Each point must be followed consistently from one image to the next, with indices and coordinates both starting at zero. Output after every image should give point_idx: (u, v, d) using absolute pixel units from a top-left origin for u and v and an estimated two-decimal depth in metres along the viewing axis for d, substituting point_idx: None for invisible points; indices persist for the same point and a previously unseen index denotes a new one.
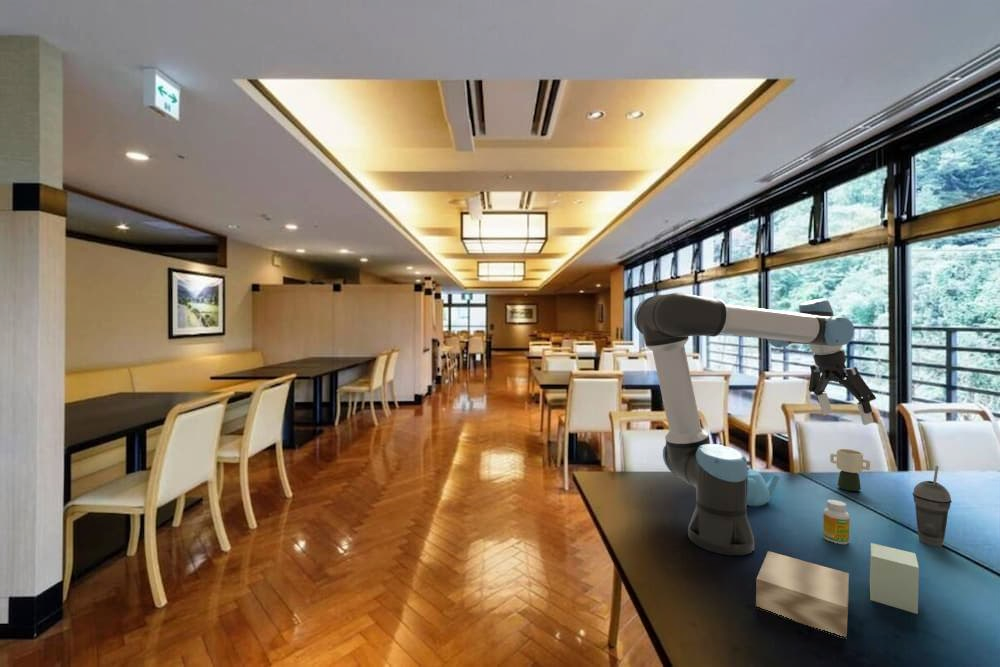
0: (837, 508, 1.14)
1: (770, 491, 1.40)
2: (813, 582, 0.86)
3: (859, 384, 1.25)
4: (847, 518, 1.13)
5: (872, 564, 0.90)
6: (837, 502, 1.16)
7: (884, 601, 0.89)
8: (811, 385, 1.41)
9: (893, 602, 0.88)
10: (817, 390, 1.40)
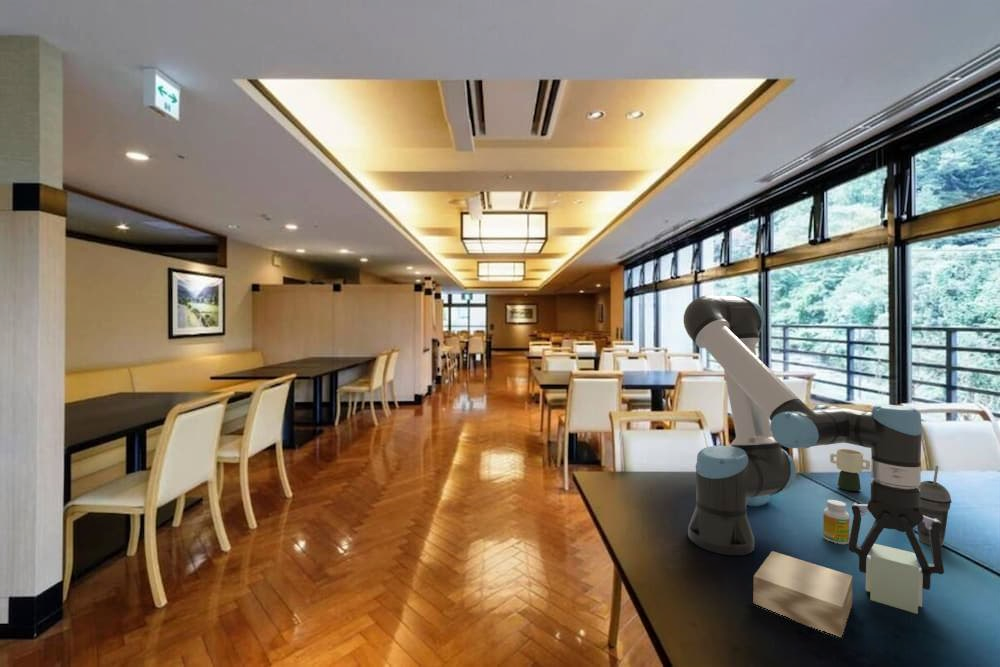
0: (837, 508, 1.14)
1: None
2: (812, 582, 0.86)
3: (852, 524, 0.95)
4: (847, 518, 1.13)
5: (872, 564, 0.90)
6: (837, 502, 1.16)
7: (884, 601, 0.89)
8: None
9: (893, 602, 0.88)
10: None
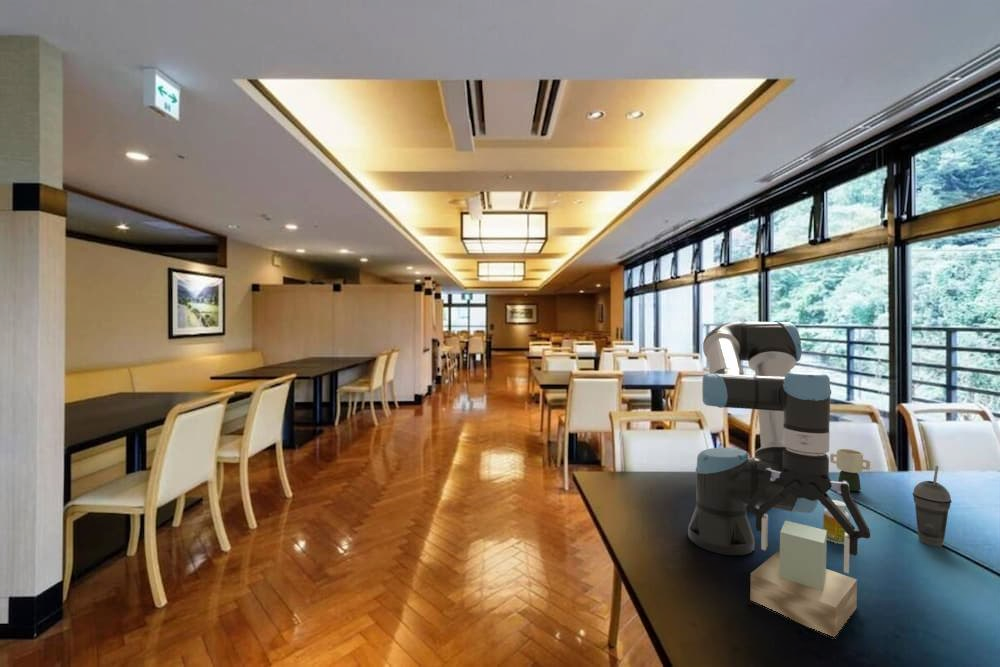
0: None
1: None
2: None
3: None
4: (847, 518, 1.13)
5: (781, 540, 0.88)
6: (837, 502, 1.16)
7: (792, 578, 0.87)
8: None
9: (800, 579, 0.86)
10: None
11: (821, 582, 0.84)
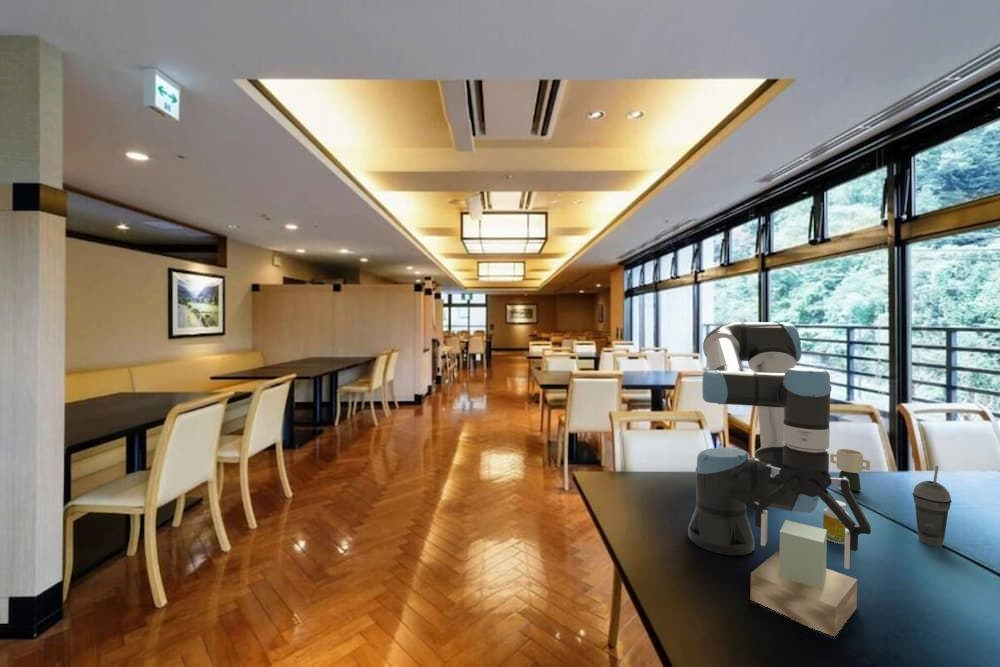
0: None
1: None
2: None
3: None
4: None
5: (780, 540, 0.88)
6: (837, 502, 1.16)
7: (791, 578, 0.87)
8: None
9: (800, 578, 0.86)
10: None
11: (821, 581, 0.84)
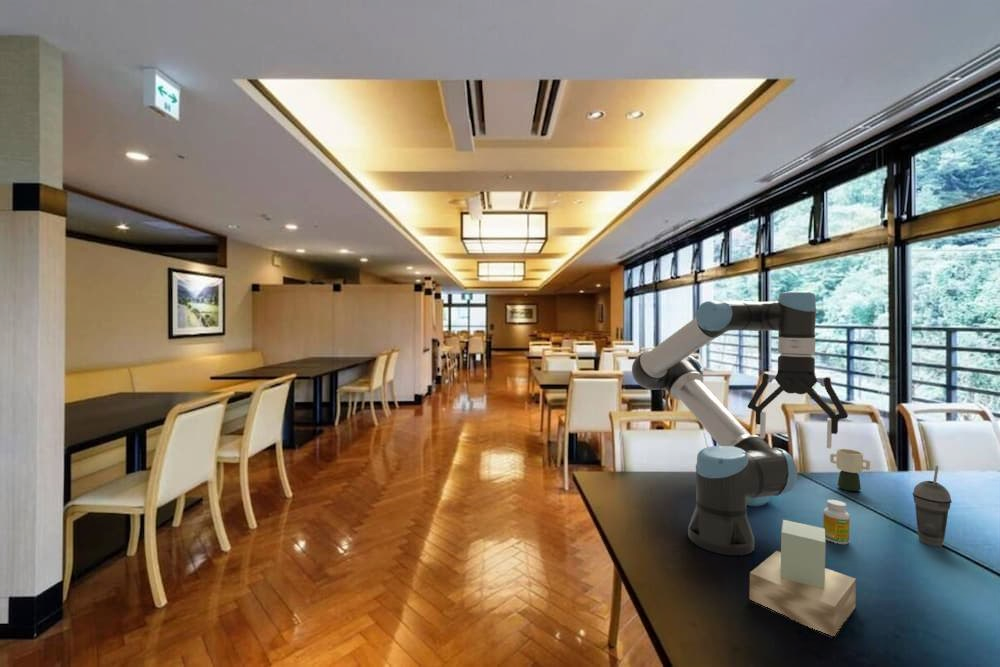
0: (837, 508, 1.14)
1: None
2: None
3: None
4: (847, 518, 1.13)
5: (782, 540, 0.88)
6: (837, 502, 1.16)
7: (793, 578, 0.87)
8: None
9: (801, 578, 0.86)
10: None
11: (822, 581, 0.84)
